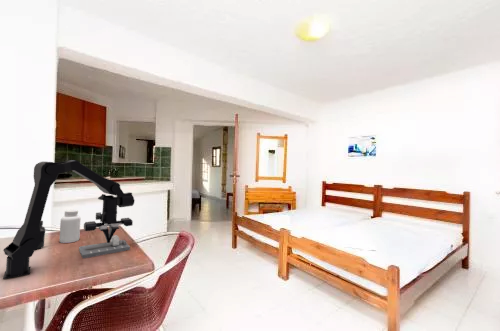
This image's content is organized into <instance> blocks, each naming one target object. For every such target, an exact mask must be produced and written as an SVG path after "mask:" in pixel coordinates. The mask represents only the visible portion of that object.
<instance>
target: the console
mask: <svg viewBox="0 0 500 331" xmlns="http://www.w3.org/2000/svg"><path fill="white" fill-rule="evenodd" d="M126 250H127V251H131V246H130V245H129V244H128V243H127V241H126V240H125V239H119V245H117V246H112V244H111V241H110V242H109V243H107V241H106V242H102V243H96V244H95V243H94V244H88V245H82V246H79V247H78V251H79V254H80V255H81V257H82V259H88V258H94V257H99V256H103V255H104V256H105V255H110V254H116V253H121V252H125V251H126ZM127 251H126V252H127Z"/></svg>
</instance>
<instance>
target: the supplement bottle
mask: <svg viewBox="0 0 500 331" xmlns="http://www.w3.org/2000/svg"><path fill="white" fill-rule="evenodd" d="M40 229H42V230H45V231H46V227H45V226H44V221H43V220H41V223H40ZM45 236H46V233H45V234H44V236H43V242H41V243H40V245H39V247H38V248H36V249H35V250H36V251H38V250H41V249H43V248H44V247H45Z"/></svg>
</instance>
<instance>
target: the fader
mask: <svg viewBox="0 0 500 331" xmlns="http://www.w3.org/2000/svg"><path fill="white" fill-rule="evenodd" d="M119 240H120V237H119V236H118V235H117V234H113V236H112V238H111V240H110V242H111V244H112V246H117V245H119Z"/></svg>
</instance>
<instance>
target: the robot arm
mask: <svg viewBox="0 0 500 331" xmlns="http://www.w3.org/2000/svg"><path fill="white" fill-rule="evenodd" d="M71 171H72V172H73V173H75V174H76V175H78V176H80V177H82V178H84V179H85V180H87V181H89V182H91V183H92V184H94V185H95V186H96V187H97V189H99V190H100V191H101V192H102V193H101V195H100V196H99V197H98V198H97V200H99V201H102V212H96V213H95V220H96V221H98V220H99V221H100V222H96V221H85V222H84V223H83V229H84V231H86V232H89V231H96V229H97V228H98V230H100V231H101V232H103V234H104V238H105V240H106V242H107V243H109V242H111V238H112V236H113V235H115V233H116V232H117V230H119V229H120V227H119V225H123V226H125V227H130V226H133V222H134V221H133V220H132V218H130V217H122V218H120V220H117V218H118V217H117V214H118V208H125V207H127V208H128V207H133V206H134V204H135V201H136V200H135V197H134V196H133V193H132V192H125V193H124V191H123V189H122V188H121V184H120V183H119V182H117V181H114V180H113V179H112V180H111V179H109V178H106V177H103V175H100V174H99V173H97V172H95V171H93V170H92V169H90V168H89V167H88V166H86V165H84V164H82V163H81V162H80V161H78V160H74V159H73V160H72V159H71V160H67V161H66V160H65V161H58V162H57V161H56V162H54V161H40V162H37V163H36V164H35V165H34V167H33V182H34V186H33V189H32V190H33V191H32V193H31V197H30V200H29V204H28V208H27V211H26V214H25V218H24V220H23V223H22V225H21V226H20V227H19V229H18V230H17V232H16V234H15V236H14V238H13V240H12V242H11V243H9V244H8V245H7V246H6V247H5V248H4V249H3V250H2V251H3V253H4V255H6V264H5V265H6V266H5V271H4V274H3V280H5V279H11V278H15V277H16V278H17V277H21V276H25V275H26V276H27V275H30V274H31V266H30V259H31V257H32V256H33V255H34V253H35V249H36V248H38V247H39V245H40V243H41V242H43V236H44V234H45V235H46V229H45V230H42V229H40V223H41V221H42V218H43V215H44V211H45V207H46V203H47V200H48V197H49V194H50V189H51V187H52V185H53V184H54V183H55V181H57V179H58V176H59V175H60V174H63V173H67V172H71ZM108 227H109V228H108Z"/></svg>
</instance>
